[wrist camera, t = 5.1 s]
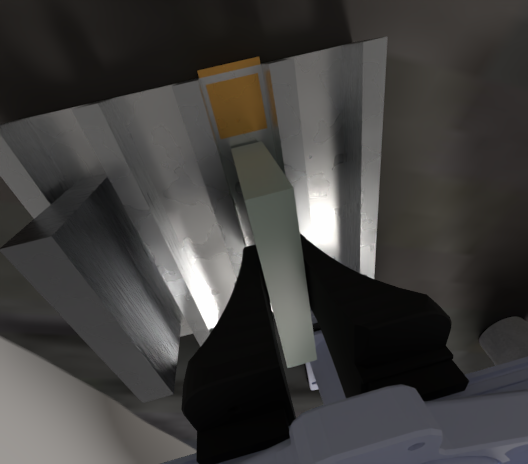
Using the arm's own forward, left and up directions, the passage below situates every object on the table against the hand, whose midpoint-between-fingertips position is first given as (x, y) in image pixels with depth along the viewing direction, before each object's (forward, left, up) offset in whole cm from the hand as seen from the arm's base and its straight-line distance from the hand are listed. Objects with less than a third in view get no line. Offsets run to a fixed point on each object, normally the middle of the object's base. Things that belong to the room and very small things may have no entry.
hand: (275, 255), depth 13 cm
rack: (0, +2, -4) cm, 5 cm away
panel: (0, 0, -3) cm, 3 cm away
